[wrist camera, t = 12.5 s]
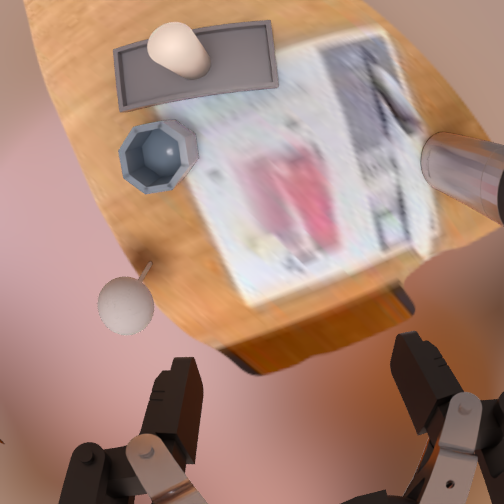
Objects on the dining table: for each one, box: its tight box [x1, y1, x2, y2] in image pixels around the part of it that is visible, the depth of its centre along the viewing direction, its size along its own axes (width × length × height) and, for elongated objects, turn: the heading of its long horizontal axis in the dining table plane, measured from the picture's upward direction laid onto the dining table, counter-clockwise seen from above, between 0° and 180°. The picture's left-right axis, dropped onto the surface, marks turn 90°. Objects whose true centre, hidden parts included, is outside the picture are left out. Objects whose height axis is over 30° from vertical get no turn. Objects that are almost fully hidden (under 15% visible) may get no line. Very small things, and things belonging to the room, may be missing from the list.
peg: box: [147, 22, 211, 80], centre depth 27 cm, size 4×4×12 cm
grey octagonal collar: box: [118, 120, 199, 194], centre depth 35 cm, size 8×8×7 cm
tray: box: [113, 20, 279, 112], centre depth 32 cm, size 20×9×2 cm, turn 96°
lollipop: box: [98, 261, 154, 335], centre depth 38 cm, size 7×7×15 cm
